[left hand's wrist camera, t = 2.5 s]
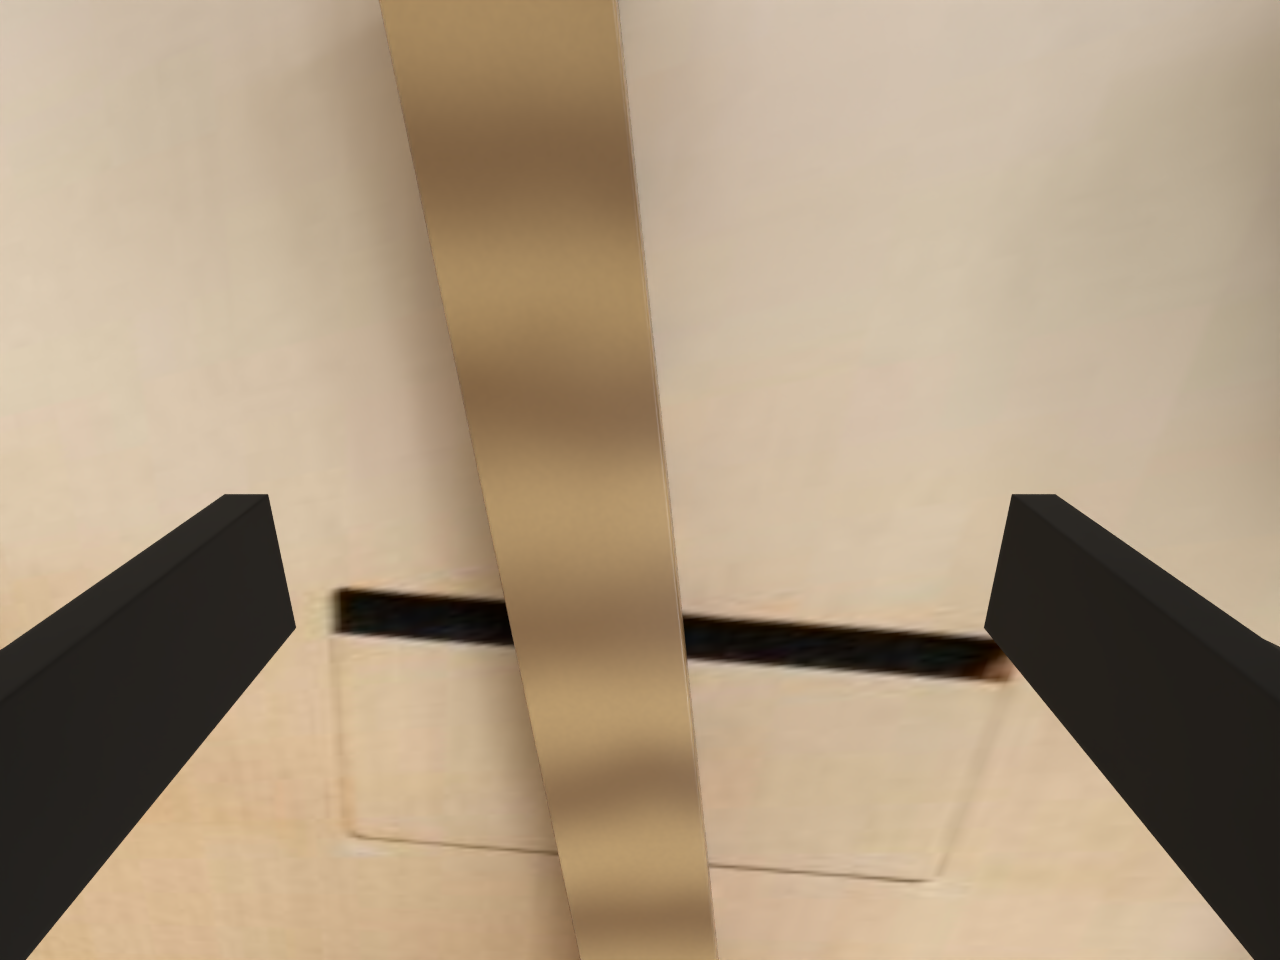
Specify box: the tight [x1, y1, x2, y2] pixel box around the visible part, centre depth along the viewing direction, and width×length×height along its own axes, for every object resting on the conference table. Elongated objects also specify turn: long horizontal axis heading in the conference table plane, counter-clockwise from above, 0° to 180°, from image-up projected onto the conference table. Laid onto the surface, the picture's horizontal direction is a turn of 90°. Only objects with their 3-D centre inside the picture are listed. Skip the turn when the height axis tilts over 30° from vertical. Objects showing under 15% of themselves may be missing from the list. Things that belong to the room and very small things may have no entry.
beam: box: [379, 0, 718, 960], centre depth 32 cm, size 67×6×8 cm, turn 6°
